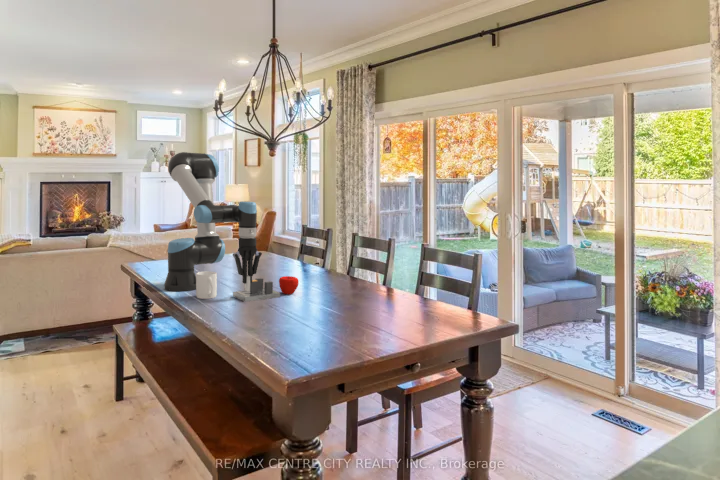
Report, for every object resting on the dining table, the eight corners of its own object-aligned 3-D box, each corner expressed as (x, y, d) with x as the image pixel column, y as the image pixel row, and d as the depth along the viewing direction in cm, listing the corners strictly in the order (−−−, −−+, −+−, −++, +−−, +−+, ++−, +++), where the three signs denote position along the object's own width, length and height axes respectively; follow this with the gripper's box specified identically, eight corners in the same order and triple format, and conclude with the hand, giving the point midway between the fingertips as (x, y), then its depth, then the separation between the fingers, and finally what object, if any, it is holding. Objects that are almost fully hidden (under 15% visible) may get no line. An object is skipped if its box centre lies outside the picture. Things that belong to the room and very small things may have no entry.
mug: (201, 301, 206) (201, 276, 205) (193, 296, 216) (193, 272, 215) (221, 299, 211) (221, 275, 209) (213, 294, 220) (213, 270, 219)
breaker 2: (264, 292, 216) (264, 281, 216) (270, 292, 218) (270, 281, 218) (266, 293, 215) (266, 282, 214) (272, 293, 217) (272, 282, 216)
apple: (301, 292, 229) (302, 276, 228) (291, 296, 221) (291, 279, 220) (285, 290, 233) (285, 274, 232) (275, 294, 225) (275, 277, 224)
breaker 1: (255, 289, 223) (255, 278, 223) (261, 288, 225) (261, 277, 225) (257, 290, 222) (257, 279, 221) (263, 289, 224) (263, 278, 223)
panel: (233, 296, 217) (233, 291, 217) (267, 292, 228) (267, 287, 228) (244, 301, 208) (244, 297, 208) (280, 297, 219) (280, 292, 218)
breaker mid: (249, 292, 217) (250, 280, 216) (256, 291, 219) (256, 279, 218) (251, 293, 215) (252, 281, 215) (258, 292, 217) (258, 280, 216)
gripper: (237, 238, 205) (236, 293, 208) (265, 237, 213) (264, 290, 216) (229, 236, 211) (229, 290, 214) (257, 235, 219) (256, 287, 222)
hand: (247, 290), depth 215 cm, fingers closed
